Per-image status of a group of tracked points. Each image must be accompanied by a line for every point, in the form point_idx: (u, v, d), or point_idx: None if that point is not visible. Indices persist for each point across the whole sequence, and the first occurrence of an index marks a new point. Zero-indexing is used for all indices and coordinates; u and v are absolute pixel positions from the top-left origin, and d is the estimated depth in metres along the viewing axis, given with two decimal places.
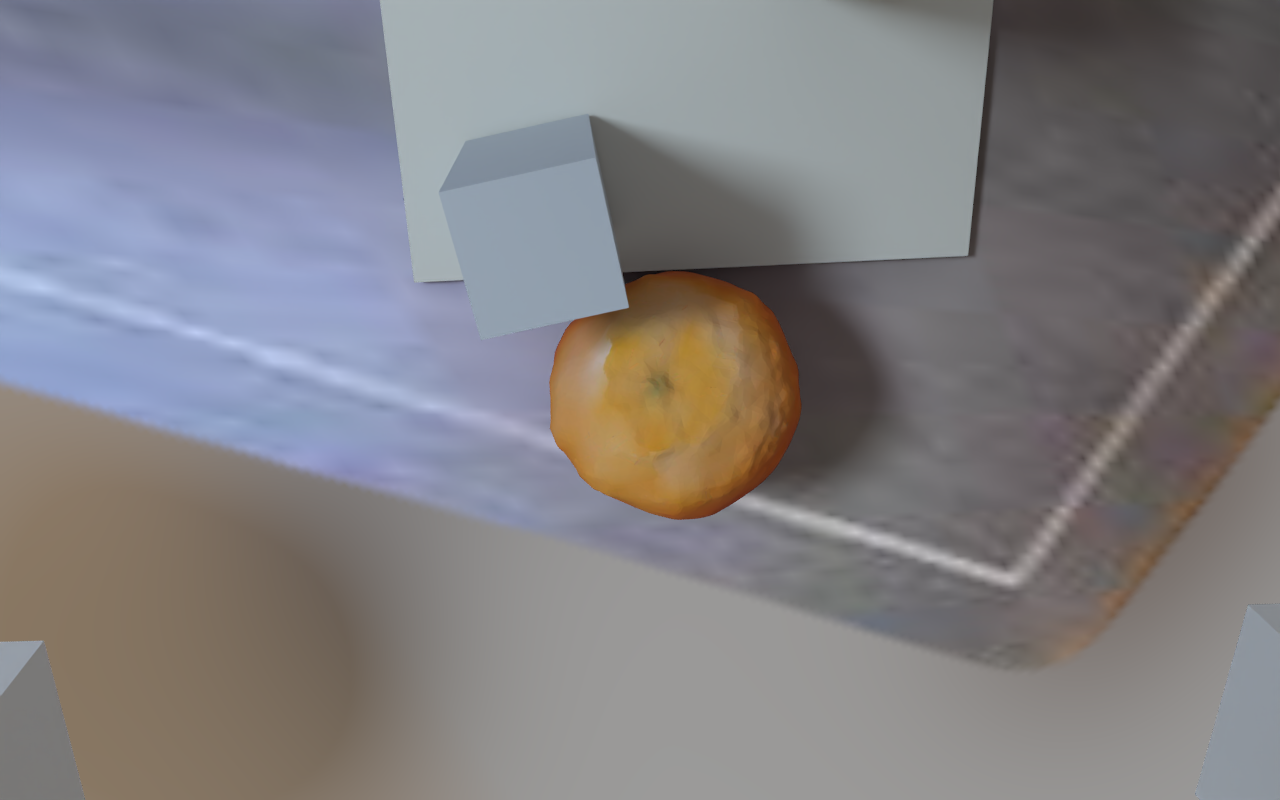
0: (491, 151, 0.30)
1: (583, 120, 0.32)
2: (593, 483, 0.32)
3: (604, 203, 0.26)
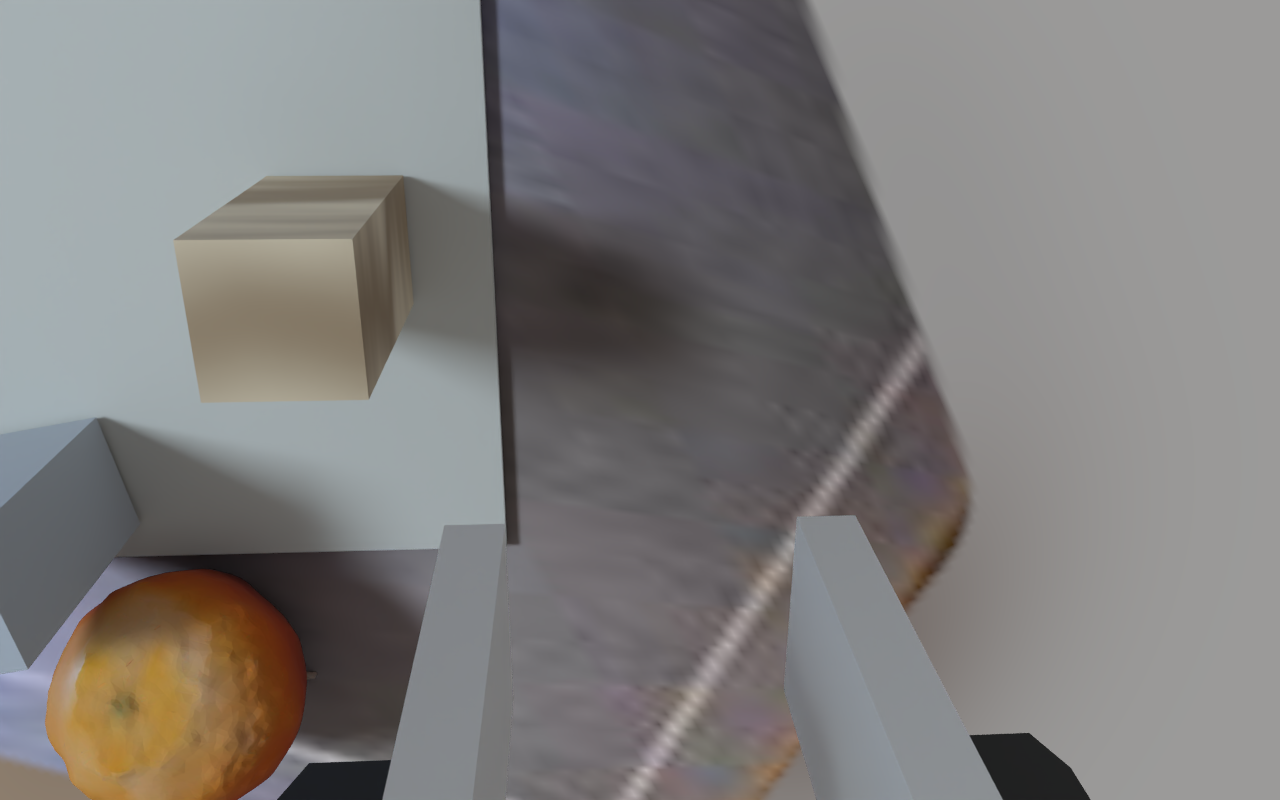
0: None
1: (73, 434, 0.32)
2: None
3: None
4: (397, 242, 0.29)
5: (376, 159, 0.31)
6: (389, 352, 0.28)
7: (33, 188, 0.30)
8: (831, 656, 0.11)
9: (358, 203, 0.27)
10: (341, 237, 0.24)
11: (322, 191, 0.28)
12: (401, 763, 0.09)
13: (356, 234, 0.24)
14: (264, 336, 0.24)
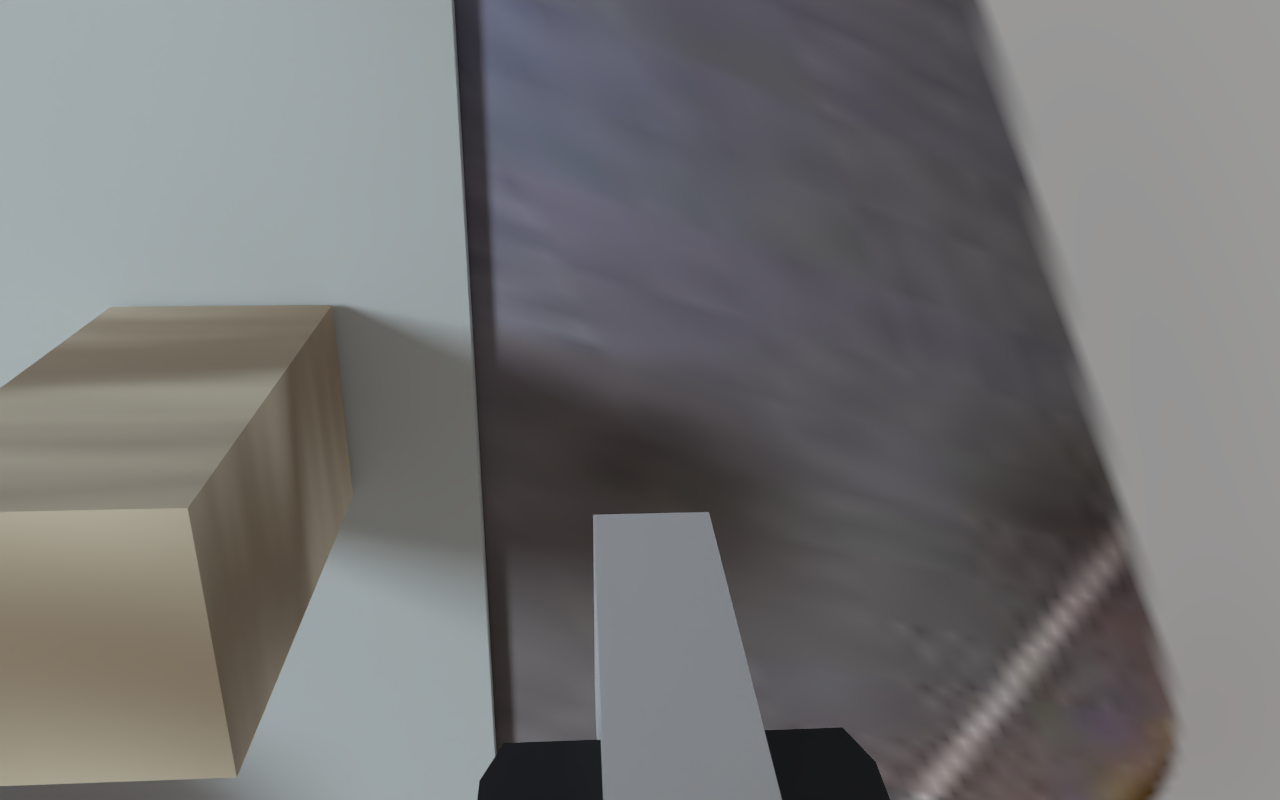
0: None
1: None
2: None
3: None
4: (317, 424, 0.18)
5: (288, 279, 0.19)
6: (295, 629, 0.16)
7: None
8: None
9: (236, 384, 0.15)
10: (168, 502, 0.12)
11: (185, 349, 0.17)
12: (612, 741, 0.09)
13: (202, 489, 0.12)
14: (29, 679, 0.13)
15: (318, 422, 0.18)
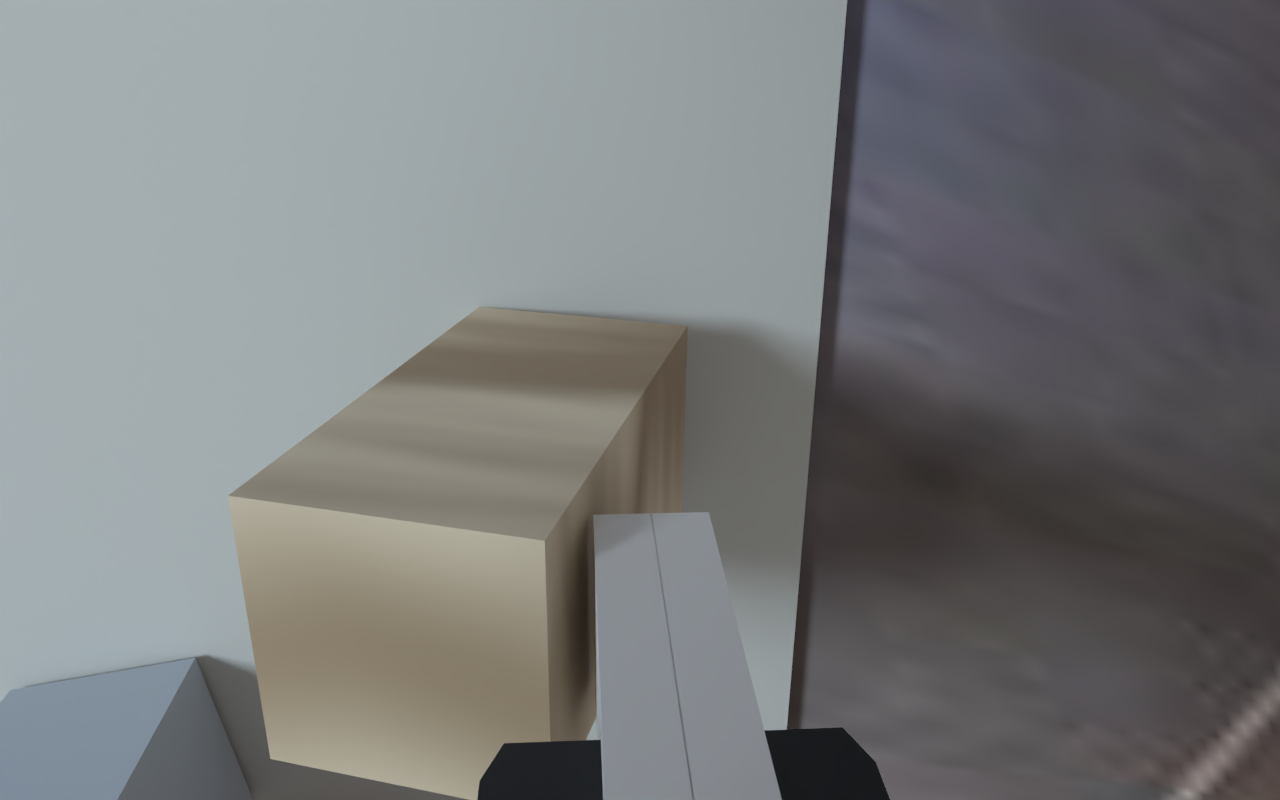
0: None
1: (165, 697, 0.21)
2: None
3: None
4: (661, 449, 0.17)
5: (652, 281, 0.19)
6: None
7: (111, 327, 0.19)
8: None
9: (593, 404, 0.15)
10: (526, 531, 0.12)
11: (545, 360, 0.17)
12: (612, 741, 0.09)
13: (558, 521, 0.12)
14: (376, 679, 0.13)
15: (662, 447, 0.17)
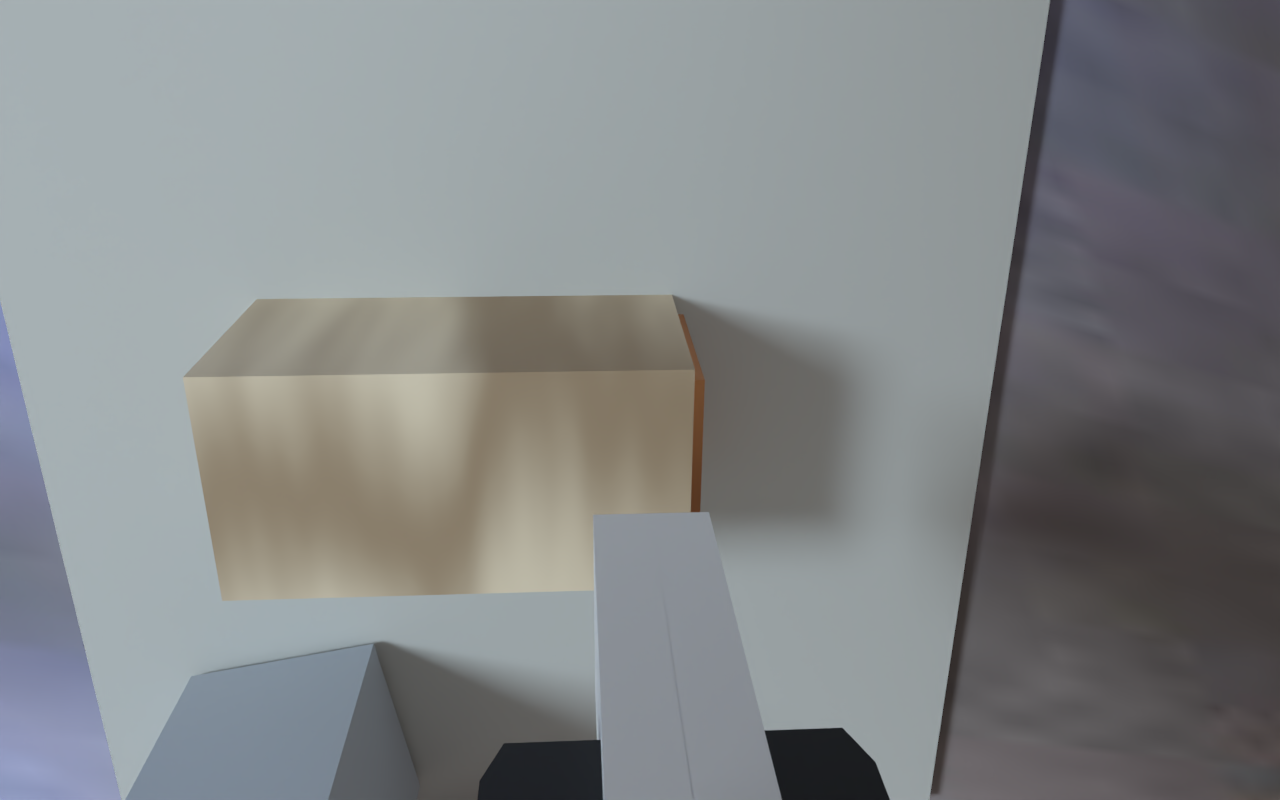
0: (187, 777, 0.19)
1: (354, 682, 0.21)
2: None
3: None
4: (569, 461, 0.17)
5: (842, 270, 0.20)
6: (415, 592, 0.17)
7: None
8: None
9: (446, 360, 0.16)
10: (198, 371, 0.16)
11: (543, 332, 0.18)
12: (612, 741, 0.09)
13: (216, 378, 0.16)
14: None
15: (576, 461, 0.17)
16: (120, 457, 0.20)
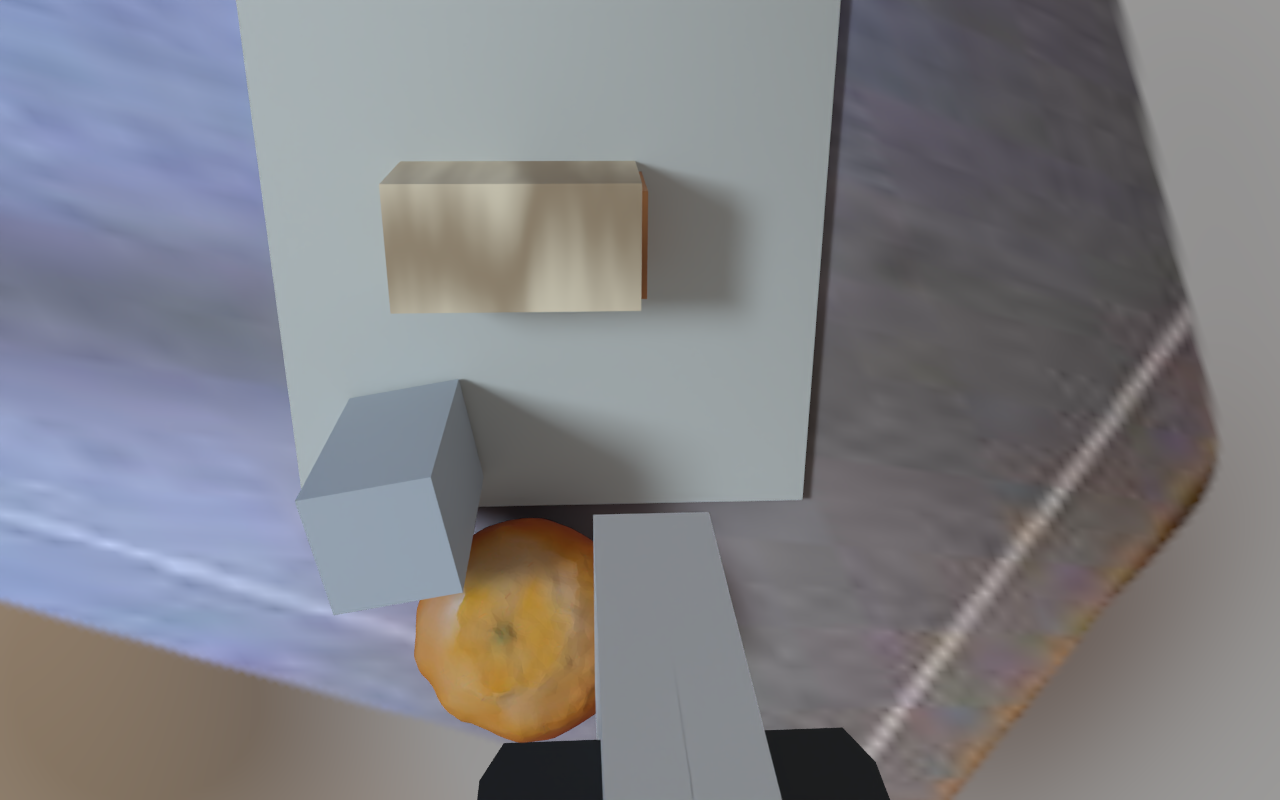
0: (360, 430, 0.34)
1: (449, 392, 0.36)
2: (448, 710, 0.36)
3: (439, 512, 0.30)
4: (577, 234, 0.31)
5: (732, 147, 0.35)
6: (493, 310, 0.32)
7: None
8: None
9: (512, 180, 0.31)
10: (385, 182, 0.31)
11: (562, 172, 0.32)
12: (612, 741, 0.09)
13: (395, 185, 0.30)
14: None
15: (580, 234, 0.31)
16: (316, 257, 0.35)
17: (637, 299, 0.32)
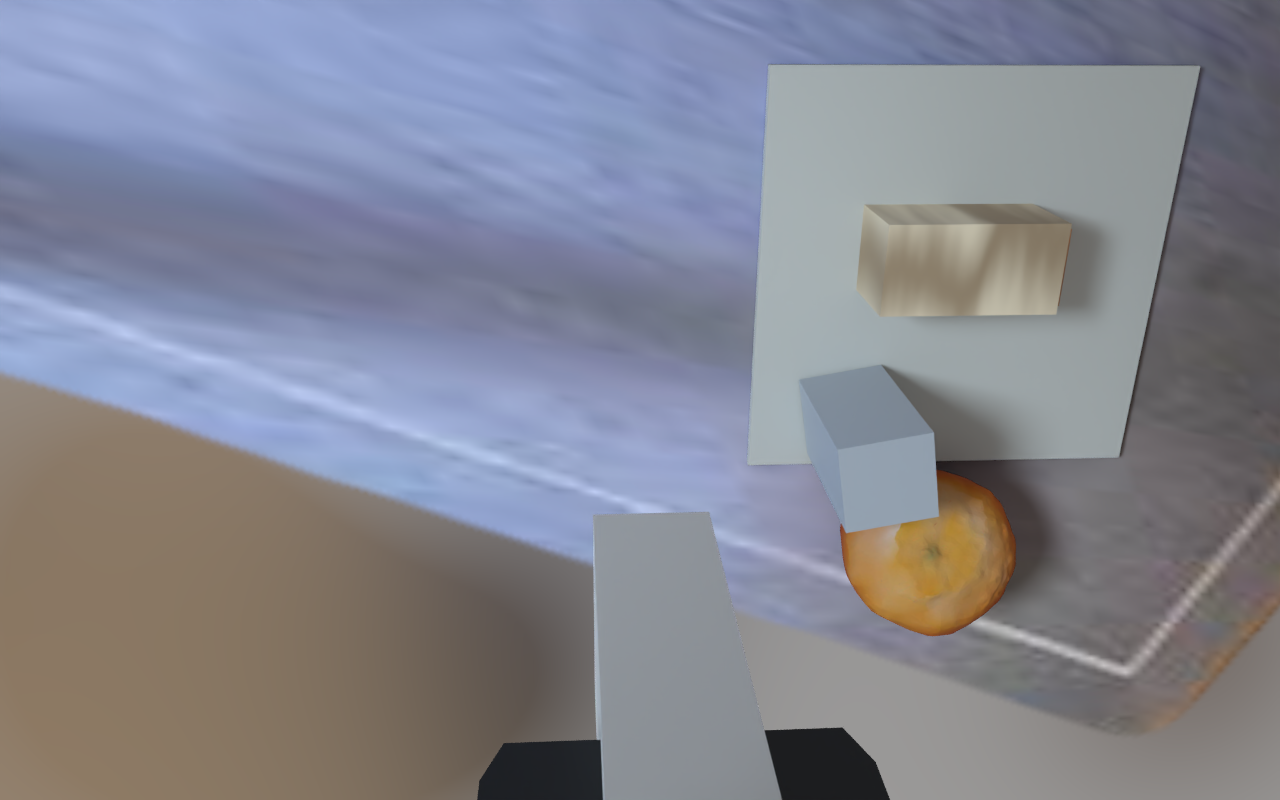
0: (836, 402, 0.46)
1: (884, 374, 0.48)
2: (879, 611, 0.49)
3: (934, 457, 0.43)
4: (1020, 260, 0.44)
5: (1104, 193, 0.47)
6: (952, 314, 0.44)
7: None
8: None
9: (975, 221, 0.44)
10: (890, 223, 0.43)
11: (999, 214, 0.45)
12: (612, 741, 0.09)
13: (901, 225, 0.43)
14: (869, 265, 0.46)
15: (1022, 260, 0.44)
16: (792, 274, 0.47)
17: (1055, 306, 0.45)
